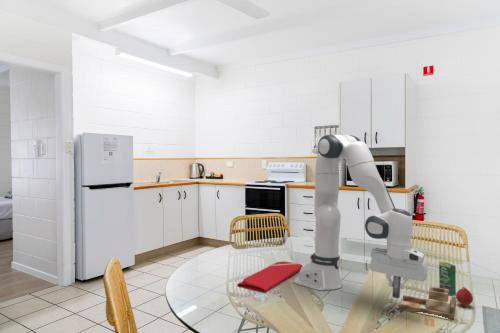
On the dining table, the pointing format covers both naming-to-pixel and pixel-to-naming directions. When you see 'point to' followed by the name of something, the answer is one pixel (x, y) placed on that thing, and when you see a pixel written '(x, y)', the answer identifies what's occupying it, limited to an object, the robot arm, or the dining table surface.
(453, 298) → the bay
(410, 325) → the dining table surface
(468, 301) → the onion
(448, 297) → the crate
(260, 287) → the red folded cloth
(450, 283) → the coffee box
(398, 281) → the handle peg
